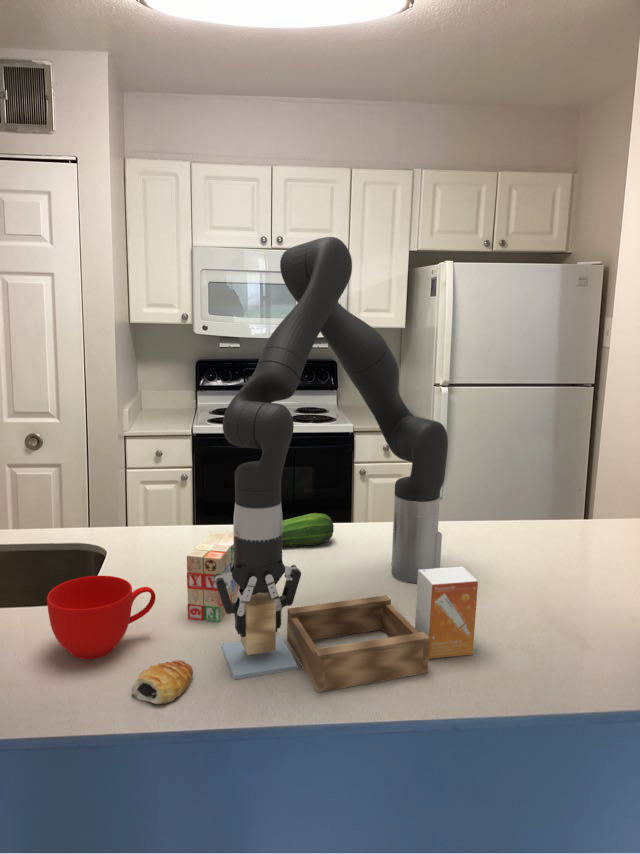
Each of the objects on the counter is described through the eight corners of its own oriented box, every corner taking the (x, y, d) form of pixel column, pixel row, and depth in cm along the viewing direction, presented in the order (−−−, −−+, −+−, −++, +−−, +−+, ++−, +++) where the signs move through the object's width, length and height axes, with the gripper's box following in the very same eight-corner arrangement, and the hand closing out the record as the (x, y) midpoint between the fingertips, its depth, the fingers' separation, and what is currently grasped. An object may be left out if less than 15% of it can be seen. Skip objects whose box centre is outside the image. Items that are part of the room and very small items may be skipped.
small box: (427, 660, 110) (431, 584, 107) (413, 641, 116) (416, 568, 113) (474, 655, 112) (479, 580, 109) (458, 636, 118) (462, 565, 115)
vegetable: (334, 509, 159) (248, 516, 154) (338, 541, 157) (251, 548, 152) (327, 514, 166) (245, 520, 161) (330, 544, 164) (247, 551, 159)
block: (268, 637, 112) (268, 591, 111) (275, 650, 108) (275, 603, 106) (241, 641, 111) (241, 594, 109) (247, 655, 106) (247, 607, 105)
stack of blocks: (227, 573, 143) (226, 516, 141) (255, 576, 142) (255, 519, 139) (187, 619, 122) (185, 554, 120) (220, 623, 121) (219, 557, 119)
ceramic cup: (167, 651, 111) (166, 594, 109) (57, 678, 103) (53, 616, 101) (145, 619, 122) (144, 566, 120) (44, 640, 114) (41, 584, 112)
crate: (385, 625, 121) (386, 595, 120) (427, 672, 106) (429, 638, 105) (287, 640, 115) (287, 608, 114) (317, 692, 100) (318, 655, 99)
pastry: (169, 667, 107) (169, 645, 106) (205, 679, 104) (205, 656, 103) (127, 698, 99) (127, 674, 98) (164, 711, 96) (164, 687, 95)
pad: (280, 638, 116) (280, 635, 116) (297, 668, 107) (297, 665, 107) (221, 647, 113) (221, 644, 113) (233, 679, 103) (233, 675, 103)
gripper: (295, 518, 111) (294, 616, 115) (207, 526, 107) (208, 628, 110) (309, 533, 104) (308, 637, 108) (216, 542, 100) (217, 650, 103)
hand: (257, 632), depth 109 cm, fingers closed on block, 4 cm apart
